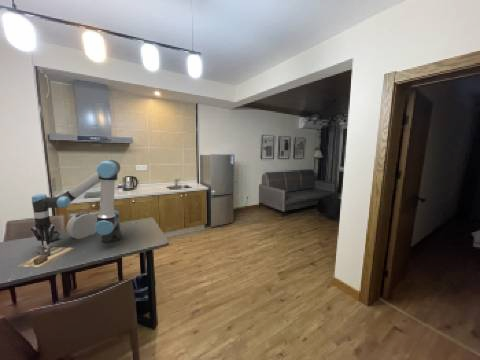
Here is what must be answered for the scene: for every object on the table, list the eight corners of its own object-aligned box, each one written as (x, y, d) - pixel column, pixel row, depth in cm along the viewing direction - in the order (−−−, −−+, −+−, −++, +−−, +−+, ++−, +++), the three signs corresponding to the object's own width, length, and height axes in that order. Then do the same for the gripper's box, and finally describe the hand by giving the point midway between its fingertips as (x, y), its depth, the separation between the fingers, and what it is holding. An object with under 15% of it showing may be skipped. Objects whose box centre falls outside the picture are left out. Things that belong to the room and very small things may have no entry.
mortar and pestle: (45, 240, 164) (43, 226, 162) (61, 237, 169) (59, 223, 168) (43, 246, 155) (41, 230, 153) (60, 242, 161) (58, 228, 159)
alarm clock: (94, 230, 186) (92, 209, 183) (99, 231, 183) (98, 210, 181) (67, 239, 166) (64, 215, 164) (73, 241, 164) (70, 217, 161)
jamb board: (75, 249, 151) (75, 243, 150) (43, 268, 126) (42, 261, 126) (54, 248, 151) (53, 242, 151) (17, 268, 126) (16, 260, 126)
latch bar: (51, 254, 140) (51, 249, 139) (44, 257, 136) (43, 251, 136) (43, 250, 146) (43, 244, 146) (36, 252, 143) (35, 247, 142)
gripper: (56, 214, 148) (60, 245, 151) (32, 216, 142) (37, 248, 146) (52, 217, 141) (56, 249, 145) (26, 219, 136) (31, 253, 139)
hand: (46, 249), depth 145 cm, fingers closed
